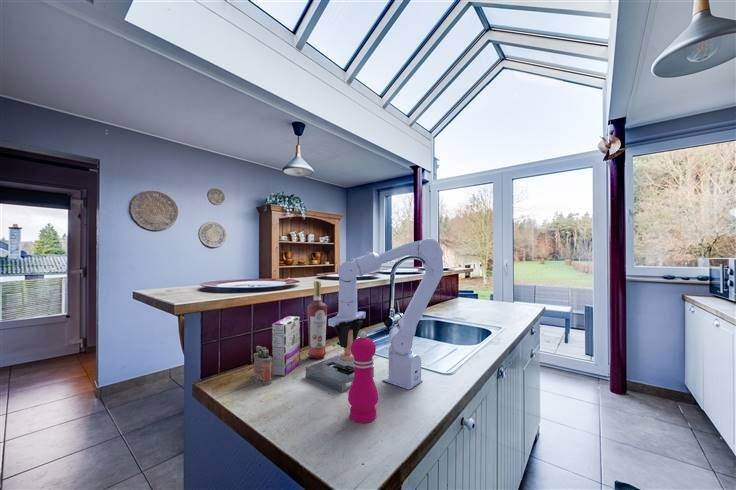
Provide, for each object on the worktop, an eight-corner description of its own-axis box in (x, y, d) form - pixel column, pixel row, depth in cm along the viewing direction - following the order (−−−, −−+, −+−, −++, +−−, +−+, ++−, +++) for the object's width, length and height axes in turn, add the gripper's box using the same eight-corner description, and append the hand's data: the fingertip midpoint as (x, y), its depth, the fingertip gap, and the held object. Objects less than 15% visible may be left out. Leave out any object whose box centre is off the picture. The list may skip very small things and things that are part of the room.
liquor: (310, 361, 105) (310, 282, 106) (304, 355, 112) (304, 281, 112) (329, 358, 109) (330, 281, 109) (322, 352, 115) (323, 280, 116)
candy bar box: (287, 362, 105) (287, 315, 105) (300, 363, 104) (300, 316, 104) (270, 375, 94) (271, 323, 94) (285, 376, 93) (285, 323, 93)
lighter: (274, 383, 88) (274, 349, 89) (263, 386, 86) (263, 351, 86) (261, 375, 94) (261, 343, 94) (250, 378, 91) (251, 345, 92)
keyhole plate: (373, 376, 93) (373, 366, 93) (342, 392, 82) (342, 381, 82) (337, 364, 103) (337, 355, 103) (305, 377, 92) (305, 367, 93)
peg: (357, 358, 91) (357, 329, 91) (348, 362, 88) (348, 332, 88) (347, 355, 94) (347, 327, 94) (337, 358, 90) (337, 330, 91)
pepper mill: (368, 428, 66) (368, 337, 66) (341, 418, 70) (342, 332, 70) (383, 413, 72) (383, 330, 72) (359, 405, 76) (359, 326, 76)
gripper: (354, 296, 99) (354, 337, 99) (321, 302, 88) (321, 348, 88) (370, 299, 95) (370, 341, 94) (338, 305, 83) (337, 354, 83)
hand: (347, 345), depth 91 cm, fingers closed on peg, 3 cm apart
